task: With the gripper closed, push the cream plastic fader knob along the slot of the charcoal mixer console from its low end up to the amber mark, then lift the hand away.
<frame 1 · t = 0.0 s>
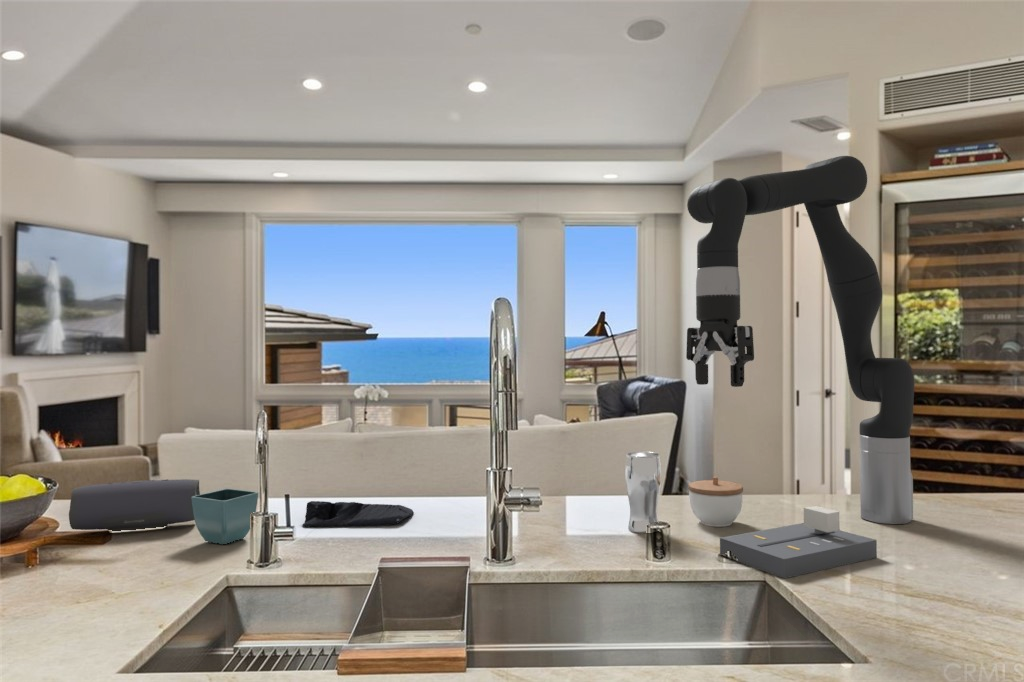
hand: (719, 385, 126), 29 cm above the worktop, fingers open, 8 cm apart
fader knob: (821, 521, 125), point 5 cm above the worktop, slide at -6.0 cm
mixer console: (797, 556, 123), on the worktop
beer glass: (643, 530, 141), on the worktop
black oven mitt: (359, 522, 153), on the worktop
flower pot: (225, 542, 137), on the worktop
bluetooth speaker: (138, 531, 146), on the worktop
lidded jar: (715, 524, 146), on the worktop
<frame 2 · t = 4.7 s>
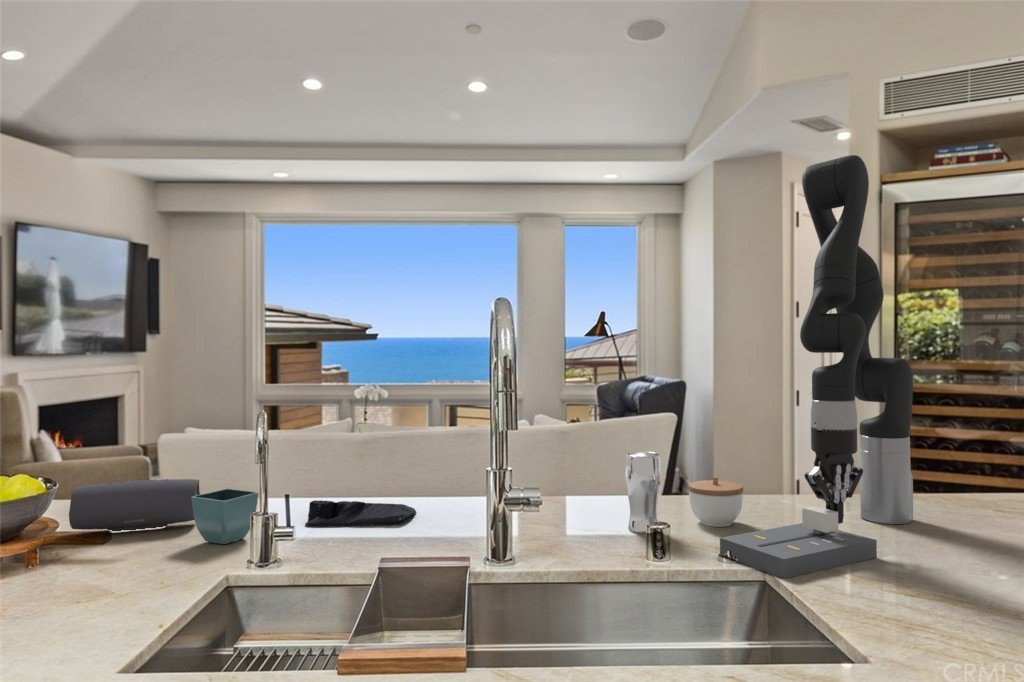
hand: (834, 522, 127), 5 cm above the worktop, fingers closed
fader knob: (820, 521, 125), point 5 cm above the worktop, slide at -5.7 cm, touching gripper
everything else where it was.
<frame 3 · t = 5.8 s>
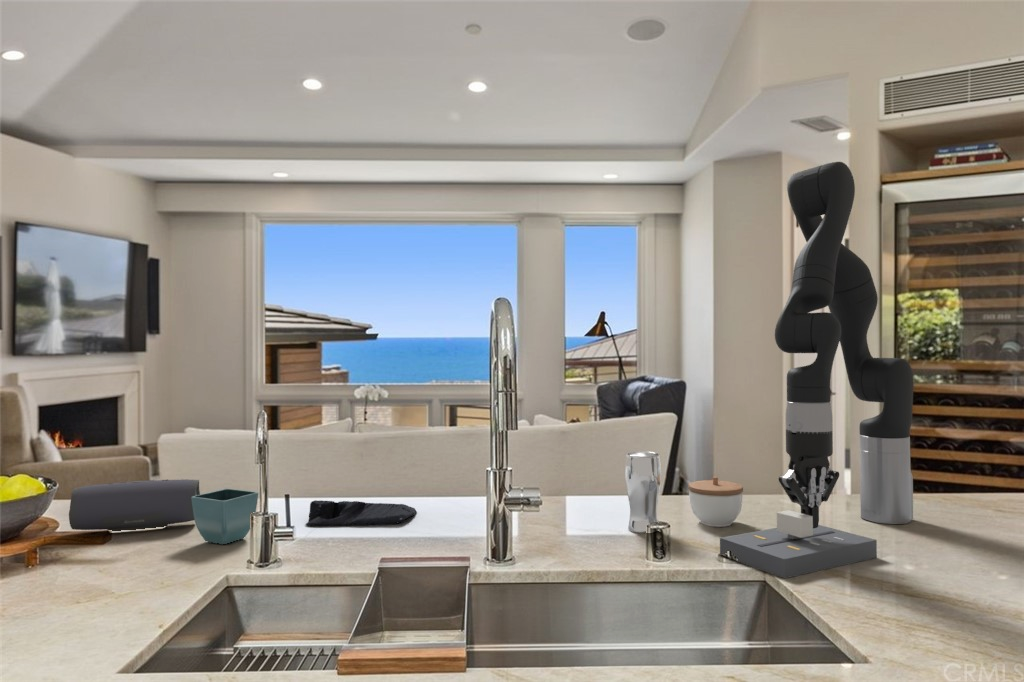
hand: (809, 527, 124), 5 cm above the worktop, fingers closed
fader knob: (794, 525, 122), point 5 cm above the worktop, slide at 0.7 cm, touching gripper
everything else where it was.
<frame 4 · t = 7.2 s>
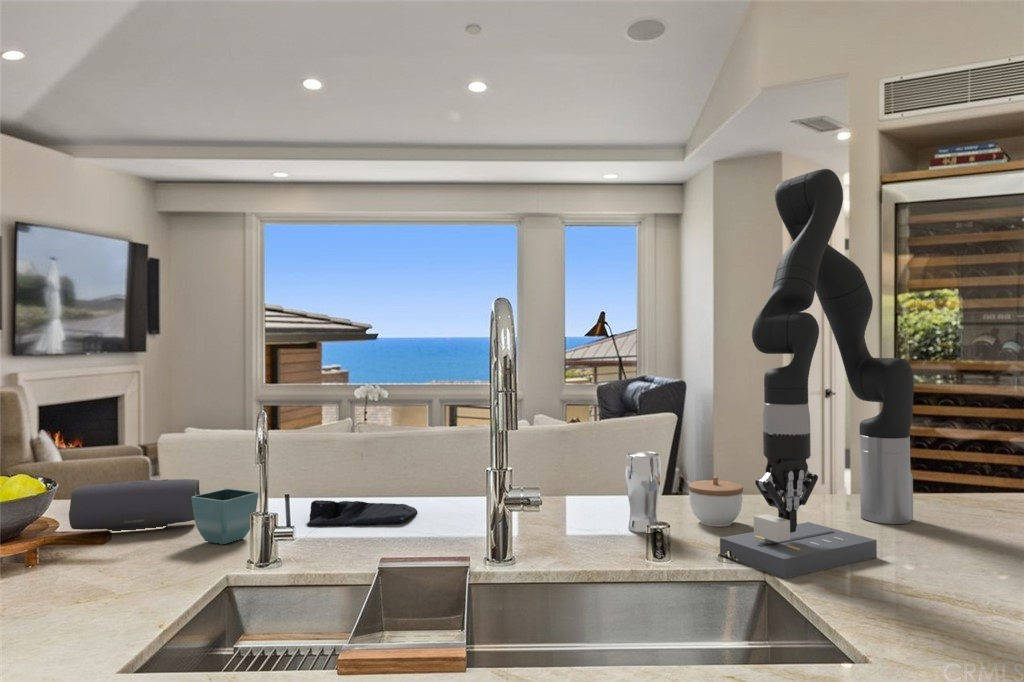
hand: (787, 531, 121), 5 cm above the worktop, fingers closed
fader knob: (771, 530, 120), point 5 cm above the worktop, slide at 6.1 cm, touching gripper
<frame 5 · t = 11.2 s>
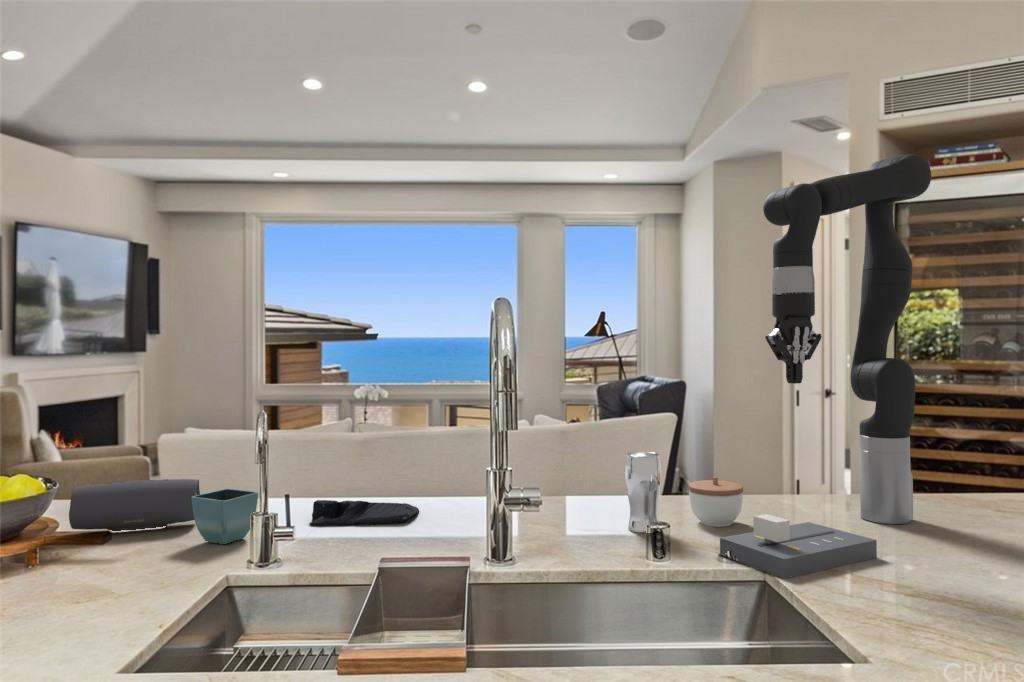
hand: (794, 383, 135), 29 cm above the worktop, fingers closed
fader knob: (771, 530, 120), point 5 cm above the worktop, slide at 6.1 cm
at the end: fader knob slide at 6.1 cm; beer glass moved 0.2 cm from its start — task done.
